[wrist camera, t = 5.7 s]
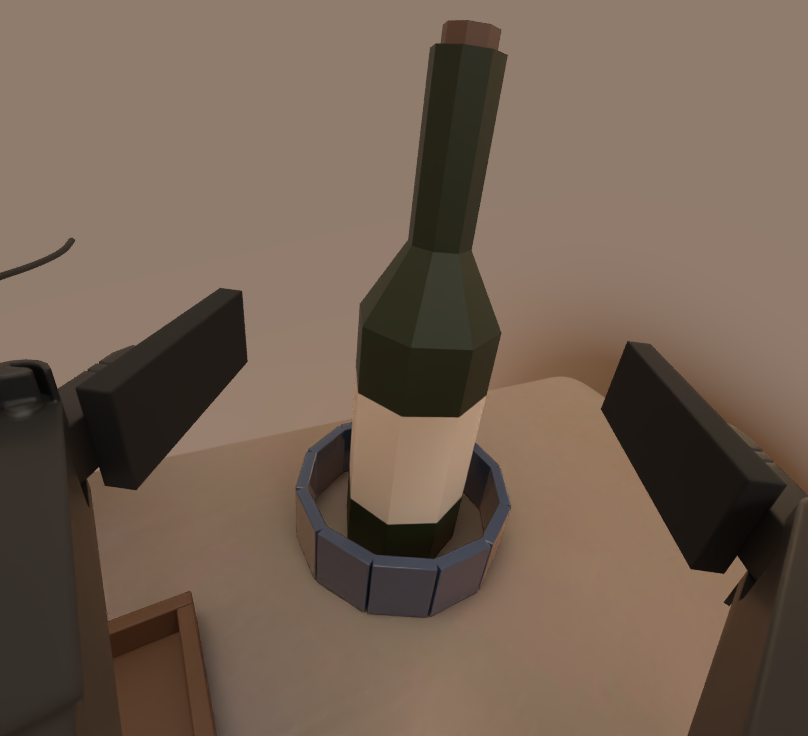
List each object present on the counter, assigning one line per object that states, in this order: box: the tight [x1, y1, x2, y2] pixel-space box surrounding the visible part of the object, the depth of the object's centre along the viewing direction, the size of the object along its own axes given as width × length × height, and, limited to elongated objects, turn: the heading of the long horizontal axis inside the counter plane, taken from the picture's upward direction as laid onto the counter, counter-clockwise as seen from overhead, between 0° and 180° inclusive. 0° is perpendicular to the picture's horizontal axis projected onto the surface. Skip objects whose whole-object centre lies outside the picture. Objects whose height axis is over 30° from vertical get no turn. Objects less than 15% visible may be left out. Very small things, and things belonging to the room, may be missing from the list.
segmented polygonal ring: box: [296, 422, 511, 617], centre depth 32 cm, size 15×15×4 cm
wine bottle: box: [347, 20, 508, 559], centre depth 26 cm, size 8×8×30 cm
